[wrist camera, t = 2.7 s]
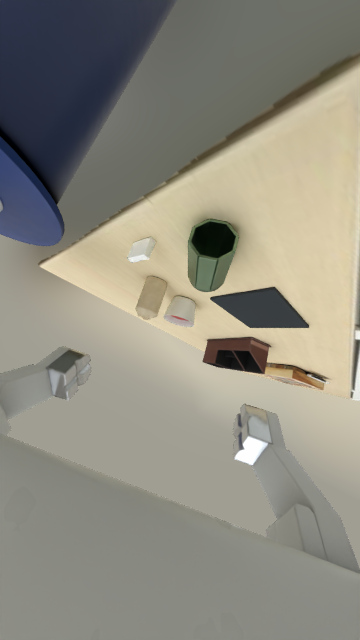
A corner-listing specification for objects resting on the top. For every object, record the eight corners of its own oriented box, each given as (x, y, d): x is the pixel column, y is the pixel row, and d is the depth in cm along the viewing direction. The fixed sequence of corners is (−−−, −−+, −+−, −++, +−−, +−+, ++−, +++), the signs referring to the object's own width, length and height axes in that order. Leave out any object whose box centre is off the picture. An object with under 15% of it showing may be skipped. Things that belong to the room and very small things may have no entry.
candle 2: (205, 307, 56) (200, 327, 55) (184, 308, 63) (178, 326, 61) (185, 292, 51) (178, 314, 49) (163, 295, 57) (157, 315, 56)
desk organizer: (206, 339, 97) (201, 361, 94) (252, 336, 71) (246, 367, 68) (222, 346, 101) (217, 367, 98) (271, 345, 75) (266, 375, 72)
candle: (167, 289, 52) (155, 323, 50) (147, 283, 52) (135, 317, 50) (167, 280, 47) (154, 318, 44) (145, 273, 47) (131, 311, 44)
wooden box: (332, 379, 103) (299, 365, 93) (331, 391, 101) (297, 379, 91) (288, 373, 125) (258, 362, 115) (287, 383, 123) (256, 372, 113)
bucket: (227, 265, 35) (219, 296, 33) (194, 257, 35) (184, 287, 34) (241, 224, 26) (232, 264, 24) (196, 215, 26) (183, 253, 25)
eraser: (156, 241, 34) (149, 259, 33) (138, 246, 37) (131, 262, 36) (151, 236, 33) (143, 254, 32) (133, 242, 36) (126, 258, 35)
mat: (210, 297, 49) (210, 299, 49) (274, 287, 37) (274, 289, 37) (250, 326, 61) (250, 327, 61) (309, 325, 48) (308, 327, 48)
